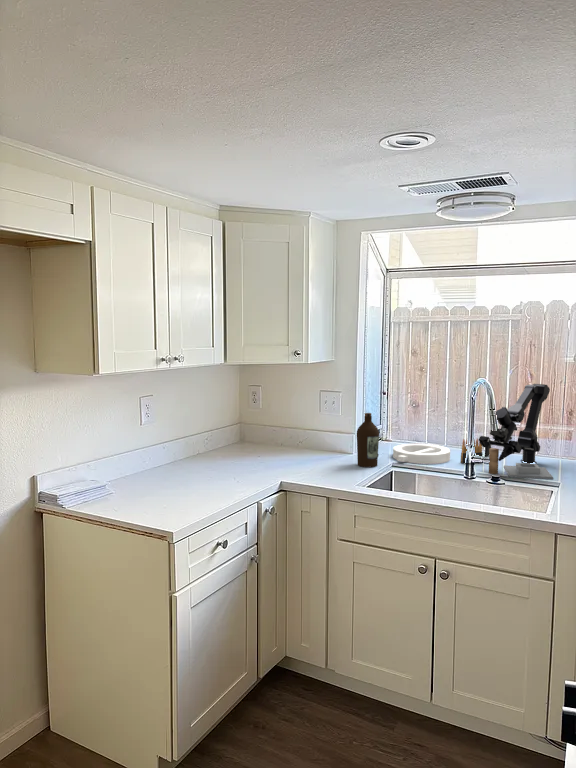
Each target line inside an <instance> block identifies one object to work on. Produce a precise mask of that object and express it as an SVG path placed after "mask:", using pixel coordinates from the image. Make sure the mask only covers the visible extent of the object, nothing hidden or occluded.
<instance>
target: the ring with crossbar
mask: <svg viewBox="0 0 576 768" xmlns="http://www.w3.org/2000/svg"><path fill="white" fill-rule="evenodd" d="M392 451H393V453H392V457H393V459H395V460H396V461H397V462H401V463H409V464H418V465H435V464H444V463H448V462H450V460H451V450H450V448H448V447H446V446H443V445H442V446H441V445H440V444H439V445H438V444H432V443H431V444H430V443H404V444H398V445H395V446H393V449H392Z"/></svg>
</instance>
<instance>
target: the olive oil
mask: <svg viewBox="0 0 576 768" xmlns="http://www.w3.org/2000/svg"><path fill="white" fill-rule="evenodd" d="M372 418H373V417H372V413H371V412H364V420H363V422H362V423H361V424H360V425H359V426H358V428H357V430H356V454H357V458H356V459H357V466H358V467H362V468H376V467H377V466H378V460H379V459H378V458H379V442H380V431H379V428H378V427H377V426H376V424H374V422H373V421H372Z"/></svg>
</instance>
